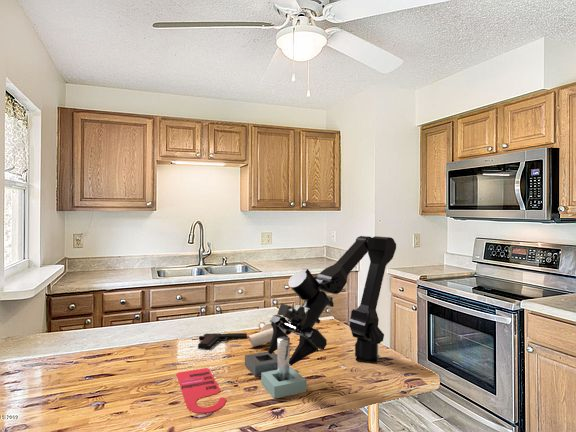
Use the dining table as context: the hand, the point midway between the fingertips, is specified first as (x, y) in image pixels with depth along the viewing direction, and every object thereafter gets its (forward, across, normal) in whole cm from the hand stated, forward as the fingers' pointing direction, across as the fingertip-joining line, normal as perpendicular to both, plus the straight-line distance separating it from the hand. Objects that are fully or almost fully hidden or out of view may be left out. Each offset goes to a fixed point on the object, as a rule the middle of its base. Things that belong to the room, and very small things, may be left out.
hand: (279, 358), depth 101 cm
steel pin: (+5, 0, +7) cm, 8 cm away
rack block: (+5, 0, +7) cm, 8 cm away
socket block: (+3, -13, +9) cm, 16 cm away
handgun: (+3, -40, +10) cm, 41 cm away
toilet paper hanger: (-7, -37, +19) cm, 42 cm away
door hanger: (+18, -12, -6) cm, 22 cm away
